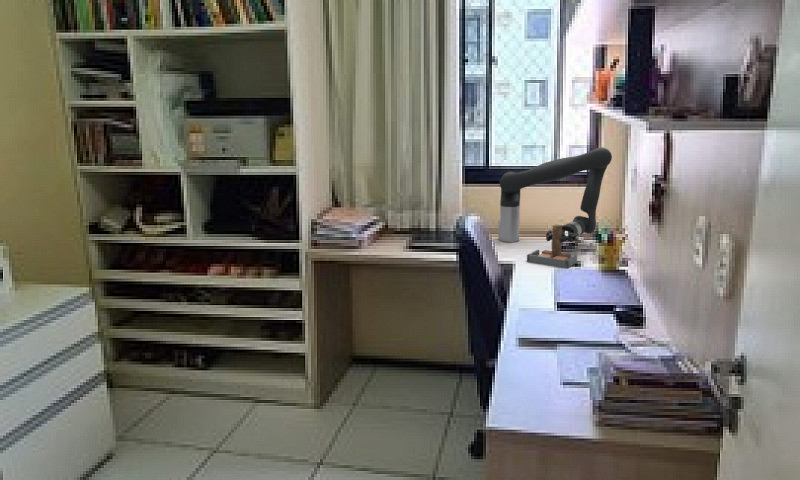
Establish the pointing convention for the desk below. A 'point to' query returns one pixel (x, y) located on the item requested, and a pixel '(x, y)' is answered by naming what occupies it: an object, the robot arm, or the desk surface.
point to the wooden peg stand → (556, 243)
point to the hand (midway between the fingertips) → (554, 239)
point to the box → (551, 260)
